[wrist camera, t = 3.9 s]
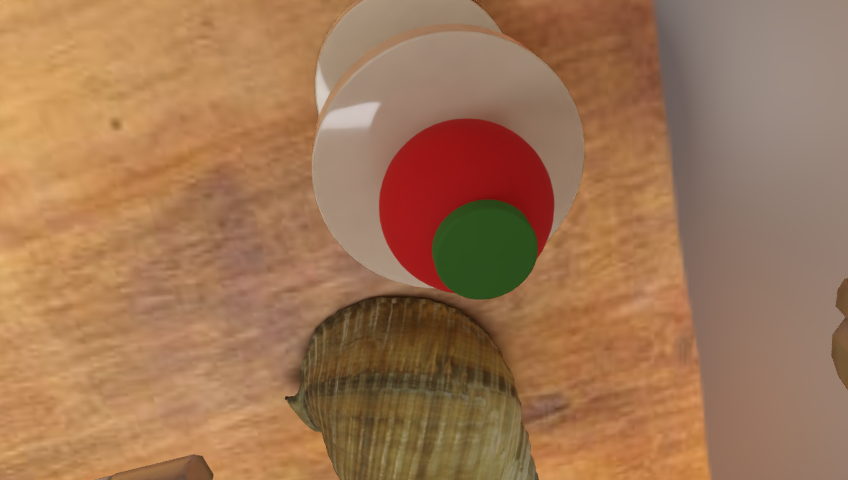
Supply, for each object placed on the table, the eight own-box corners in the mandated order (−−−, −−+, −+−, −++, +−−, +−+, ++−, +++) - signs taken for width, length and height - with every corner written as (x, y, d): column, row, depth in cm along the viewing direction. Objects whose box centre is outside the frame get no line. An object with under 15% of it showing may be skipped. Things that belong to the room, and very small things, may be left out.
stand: (492, -43, 19) (570, -3, 13) (521, 148, 22) (596, 253, 16) (288, 9, 19) (272, 73, 13) (345, 194, 22) (354, 316, 16)
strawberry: (515, 78, 14) (573, 139, 11) (537, 219, 16) (592, 310, 12) (355, 119, 14) (364, 193, 11) (393, 257, 15) (412, 357, 12)
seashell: (315, 313, 29) (260, 508, 26) (316, 252, 23) (243, 501, 19) (531, 365, 30) (504, 562, 26) (592, 320, 23) (567, 573, 20)
